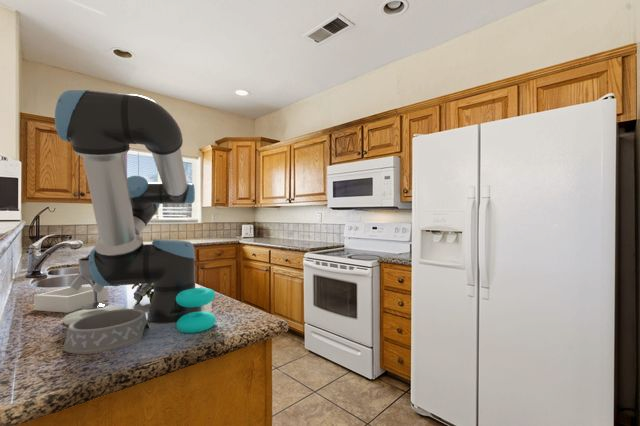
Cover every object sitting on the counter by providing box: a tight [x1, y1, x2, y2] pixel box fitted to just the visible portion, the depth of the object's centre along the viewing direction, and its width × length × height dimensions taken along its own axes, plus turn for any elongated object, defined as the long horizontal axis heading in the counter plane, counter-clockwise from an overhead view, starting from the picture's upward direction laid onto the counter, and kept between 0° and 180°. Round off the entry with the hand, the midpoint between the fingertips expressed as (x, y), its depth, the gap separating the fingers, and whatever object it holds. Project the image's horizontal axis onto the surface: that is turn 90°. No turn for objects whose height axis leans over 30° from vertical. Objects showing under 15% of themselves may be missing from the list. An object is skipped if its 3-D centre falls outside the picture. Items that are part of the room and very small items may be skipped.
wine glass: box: [78, 256, 110, 310], centre depth 97 cm, size 8×8×15 cm
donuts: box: [175, 287, 216, 334], centre depth 85 cm, size 10×10×10 cm
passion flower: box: [131, 283, 154, 306], centre depth 110 cm, size 11×11×12 cm
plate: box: [62, 305, 125, 326], centre depth 96 cm, size 15×15×1 cm
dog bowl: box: [63, 308, 150, 355], centre depth 79 cm, size 17×18×5 cm
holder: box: [33, 285, 109, 314], centre depth 110 cm, size 14×14×5 cm
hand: (84, 289), depth 94 cm, fingers closed on wine glass, 8 cm apart
